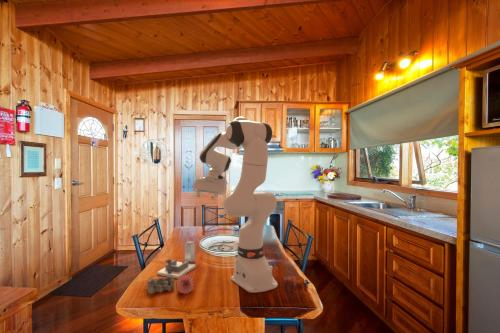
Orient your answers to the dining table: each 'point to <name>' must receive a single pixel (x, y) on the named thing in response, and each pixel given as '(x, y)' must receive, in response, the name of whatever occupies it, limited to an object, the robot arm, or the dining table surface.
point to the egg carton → (155, 284)
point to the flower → (185, 284)
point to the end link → (189, 251)
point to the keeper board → (176, 268)
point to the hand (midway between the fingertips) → (205, 198)
